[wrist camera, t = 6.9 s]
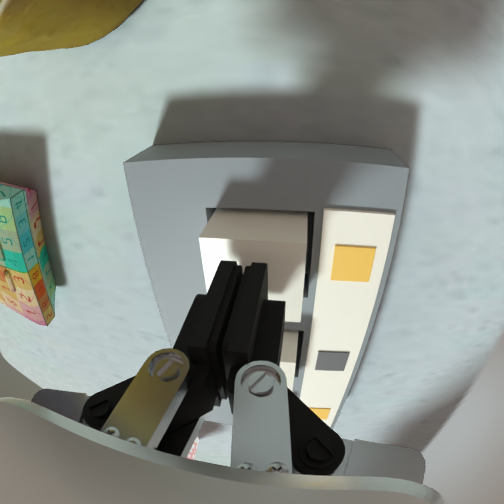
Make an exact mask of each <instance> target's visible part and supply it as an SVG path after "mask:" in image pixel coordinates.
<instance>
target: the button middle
mask: <svg viewBox="0 0 504 504" xmlns="http://www.w3.org/2000/svg"><path fill="white" fill-rule="evenodd" d="M297 344H298V330H284V335H283V344H282V352H281V360H280V368H281V369H282V370H283V372H284V373H285V376H286V379H287V387H288V388H289V389H290V390H291V391H292V390H293V382H294V374H295V366H296V356H297Z"/></svg>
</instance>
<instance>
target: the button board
mask: <svg viewBox="0 0 504 504" xmlns="http://www.w3.org/2000/svg"><path fill="white" fill-rule="evenodd" d="M123 165H124V170H125V176H126V181H127V186H128V191H129V196H130V201H131V205H132V210H133V214H134V219H135V223H136V227H137V232H138V236H139V240H140V244H141V248H142V252H143V256H144V260H145V263H146V267H147V271H148V274H149V278H150V281H151V285H152V288H153V292H154V295H155V299H156V302H157V305H158V308H159V312H160V315H161V318H162V321H163V324H164V327H165V330H166V333H167V336H168V339H169V342H170V345H171V348H172V349H173V347H174V344H175V342H176V340H177V337H178V335H179V333H180V330H181V328H182V326H183V323H184V321H185V319H186V316H187V314H188V312H189V310H190V307H191V305H192V303H193V301H194V298H195V297H196V295H197V294H207V288H206V282H205V276H204V270H203V263H202V257H201V250H200V243H199V236H200V235H201V233H202V231H203V230H204V228H205V226H206V225H207V223H208V221H209V220H210V218H211V216H212V215H213V213H214V212H215V210H216V208H242V209H268V210H290V211H308V217H307V251H306V265H305V278H304V290H303V301H302V312H301V322H287V321H285V324H284V330H298V344H297V356H296V366H295V374H294V382H293V390H292V392H293V393H294V394H295V395H296V396H297V397H298V398H299V399H300V400H301V401H302V402H303V403H304V404H305V405H307V406H308V407H309V408H310V409H311V410H312V411H313V412H314V413H315V414H316V415H317V416H318V417H319V418H320V419H321V420H322V421H324V422H325V423H326V424H327V425H328V426H329V427H330V428H331V429H332V430H333V427H334V425H335V423H336V421H337V419H338V416H339V414H340V412H341V409H342V407H343V405H344V402H345V400H346V398H347V395H348V393H349V390H350V388H351V385H352V383H353V380H354V378H355V375H356V373H357V370H358V367H359V365H360V362H361V359H362V356H363V354H364V351H365V348H366V345H367V342H368V339H369V336H370V333H371V330H372V327H373V324H374V321H375V318H376V314H377V311H378V308H379V305H380V301H381V298H382V294H383V291H384V287H385V283H386V280H387V276H388V272H389V268H390V264H391V260H392V256H393V252H394V248H395V243H396V239H397V234H398V230H399V225H400V220H401V215H402V209H403V204H404V199H405V193H406V187H407V180H408V174H409V167H408V166H407V165H406V164H405V163H404V162H403V161H402V160H401V159H400V158H399V157H398V156H397V155H396V154H395V153H394V152H393V151H392V150H391V149H382V148H373V147H363V146H352V145H340V144H326V143H308V142H279V141H226V142H197V143H179V144H164V145H152V146H151V147H149V148H147V149H145V150H144V151H142V152H140V153H138V154H137V155H135V156H133V157H132V158H130V159H128V160H127V161H125V162H123ZM205 421H211V422H217V423H223V424H229V425H233V414H232V413H231V408H230V404H229V399H228V398H227V400H225V399H222V401H221V405H220V407H218V406H214V408H213V410H212V411H210V412H208V413H207V414H206V417H205Z"/></svg>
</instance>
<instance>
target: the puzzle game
mask: <svg viewBox="0 0 504 504" xmlns="http://www.w3.org/2000/svg"><path fill="white" fill-rule="evenodd" d="M55 290H56V284H55V281H54V277H53V273H52V269H51V265H50V261H49V257H48V253H47V248H46V244H45V239H44V234H43V229H42V224H41V218H40V212H39V206H38V200H37V193H36V190H33V189H29V188H26V187H21V186H17V185H13V184H8V183H4V182H0V302H1V303H2V304H4V305H6V306H7V307H9V308H11V309H12V310H14V311H16V312H17V313H19V314H21V315H22V316H24V317H26V318H28V319H29V320H31V321H33V322H35V323H37V324H39V325H45V326H48V325H49V323H50V322H51V321H52V319H53V318H54V317H55Z"/></svg>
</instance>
